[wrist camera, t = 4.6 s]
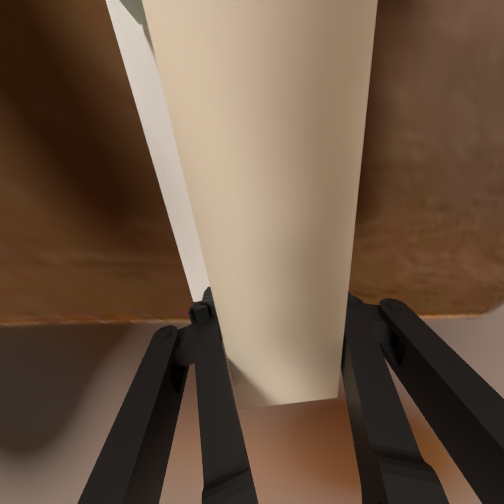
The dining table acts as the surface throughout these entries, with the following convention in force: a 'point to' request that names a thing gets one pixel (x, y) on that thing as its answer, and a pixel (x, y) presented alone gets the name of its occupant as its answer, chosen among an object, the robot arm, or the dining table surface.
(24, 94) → the dining table surface
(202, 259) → the track
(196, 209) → the beige wooden block
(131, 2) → the socket block
